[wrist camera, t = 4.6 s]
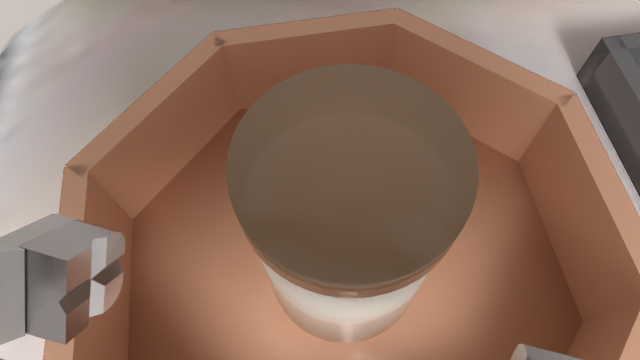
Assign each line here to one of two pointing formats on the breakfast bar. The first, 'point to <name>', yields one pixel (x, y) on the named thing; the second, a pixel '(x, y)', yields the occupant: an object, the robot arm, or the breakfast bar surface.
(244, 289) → the bowl
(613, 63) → the tray
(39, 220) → the robot arm
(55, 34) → the breakfast bar surface
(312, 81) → the spice jar
